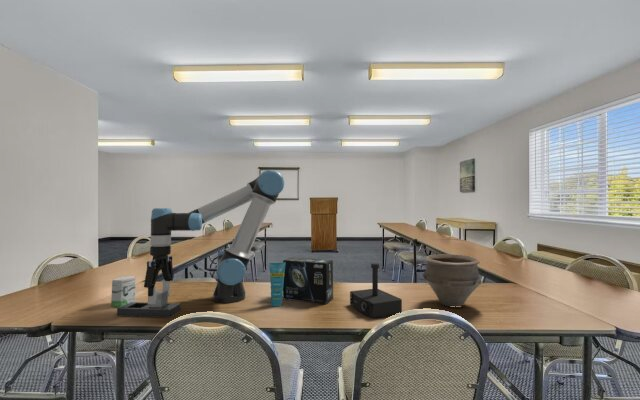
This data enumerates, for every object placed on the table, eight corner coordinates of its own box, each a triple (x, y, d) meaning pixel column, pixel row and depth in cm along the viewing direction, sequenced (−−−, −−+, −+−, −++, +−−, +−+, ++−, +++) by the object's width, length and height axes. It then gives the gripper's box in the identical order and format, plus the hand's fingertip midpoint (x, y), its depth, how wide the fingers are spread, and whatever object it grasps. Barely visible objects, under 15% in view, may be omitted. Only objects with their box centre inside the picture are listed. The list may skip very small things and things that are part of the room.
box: (282, 298, 143) (282, 259, 143) (291, 293, 152) (292, 256, 153) (326, 304, 134) (326, 263, 135) (333, 298, 143) (334, 259, 144)
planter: (494, 309, 130) (494, 259, 131) (461, 318, 118) (461, 263, 119) (444, 294, 151) (444, 251, 152) (412, 301, 139) (412, 254, 140)
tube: (268, 307, 130) (269, 263, 130) (268, 303, 135) (268, 261, 135) (285, 306, 131) (286, 263, 132) (284, 302, 136) (284, 261, 137)
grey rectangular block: (167, 311, 123) (167, 290, 123) (160, 315, 119) (161, 293, 119) (157, 311, 123) (157, 289, 124) (150, 315, 119) (150, 292, 119)
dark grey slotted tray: (180, 310, 124) (180, 303, 125) (169, 317, 116) (169, 309, 117) (130, 309, 126) (131, 302, 126) (116, 315, 118) (117, 308, 118)
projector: (345, 305, 134) (346, 261, 134) (376, 301, 140) (376, 259, 141) (368, 320, 116) (369, 269, 117) (403, 314, 123) (402, 266, 123)
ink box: (120, 307, 128) (121, 280, 128) (110, 307, 129) (111, 279, 129) (135, 301, 136) (136, 276, 137) (126, 301, 137) (127, 275, 137)
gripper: (167, 242, 133) (165, 292, 132) (133, 248, 111) (131, 308, 111) (183, 242, 132) (182, 292, 132) (152, 248, 111) (151, 309, 110)
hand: (159, 300), depth 121 cm, fingers open, 9 cm apart
